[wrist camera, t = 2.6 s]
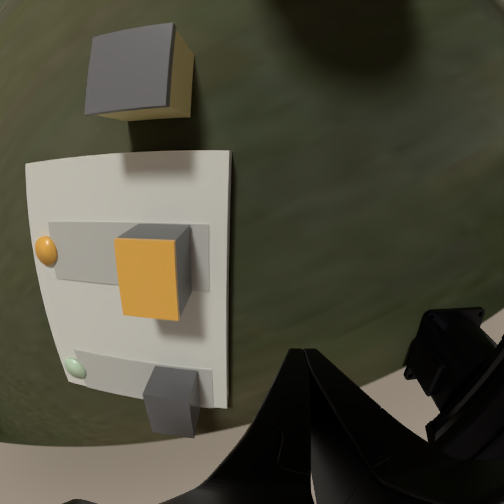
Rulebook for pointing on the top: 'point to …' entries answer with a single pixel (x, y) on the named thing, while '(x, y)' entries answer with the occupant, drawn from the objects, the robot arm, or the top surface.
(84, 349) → the panel
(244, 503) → the robot arm
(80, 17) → the top surface
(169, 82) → the block
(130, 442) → the top surface
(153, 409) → the plain toggle
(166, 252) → the tagged toggle
